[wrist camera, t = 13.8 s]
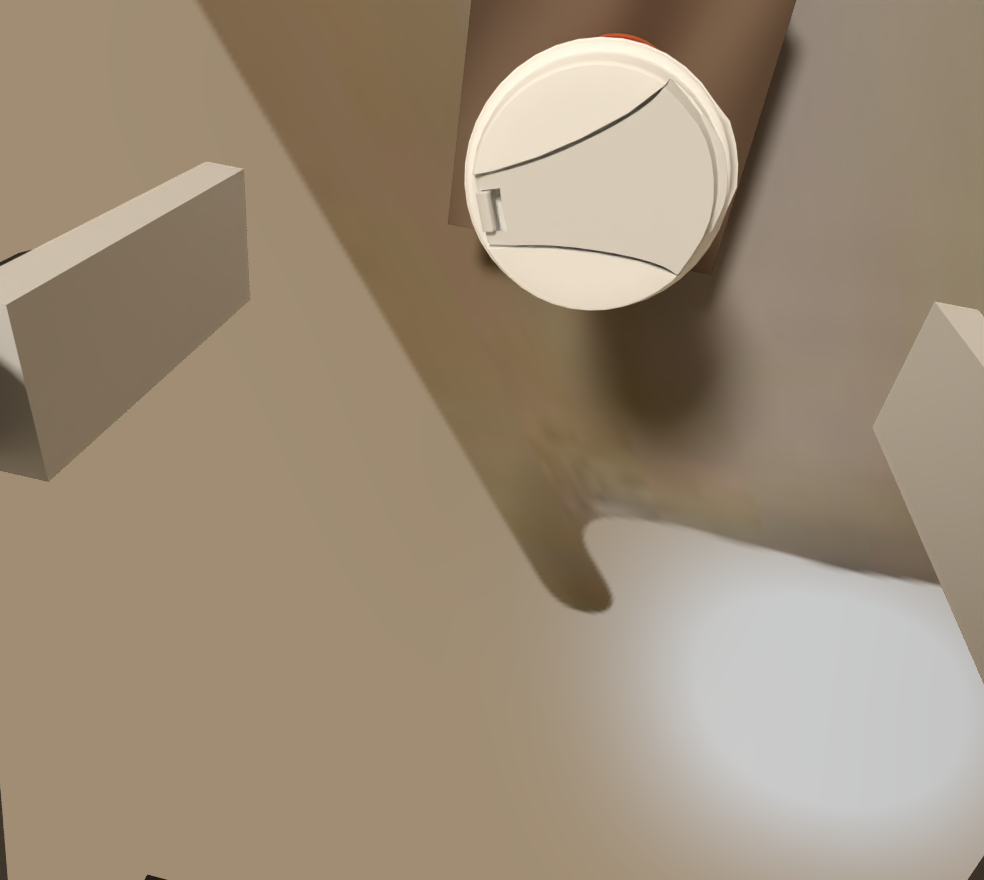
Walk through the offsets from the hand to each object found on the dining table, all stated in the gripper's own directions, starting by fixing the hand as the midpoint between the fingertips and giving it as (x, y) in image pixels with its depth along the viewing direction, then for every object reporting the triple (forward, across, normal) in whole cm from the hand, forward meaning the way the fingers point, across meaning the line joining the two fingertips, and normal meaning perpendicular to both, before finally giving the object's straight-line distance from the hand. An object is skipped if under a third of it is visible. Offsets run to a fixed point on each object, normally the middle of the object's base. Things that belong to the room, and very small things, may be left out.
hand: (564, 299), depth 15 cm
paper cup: (+22, 0, 0) cm, 22 cm away
